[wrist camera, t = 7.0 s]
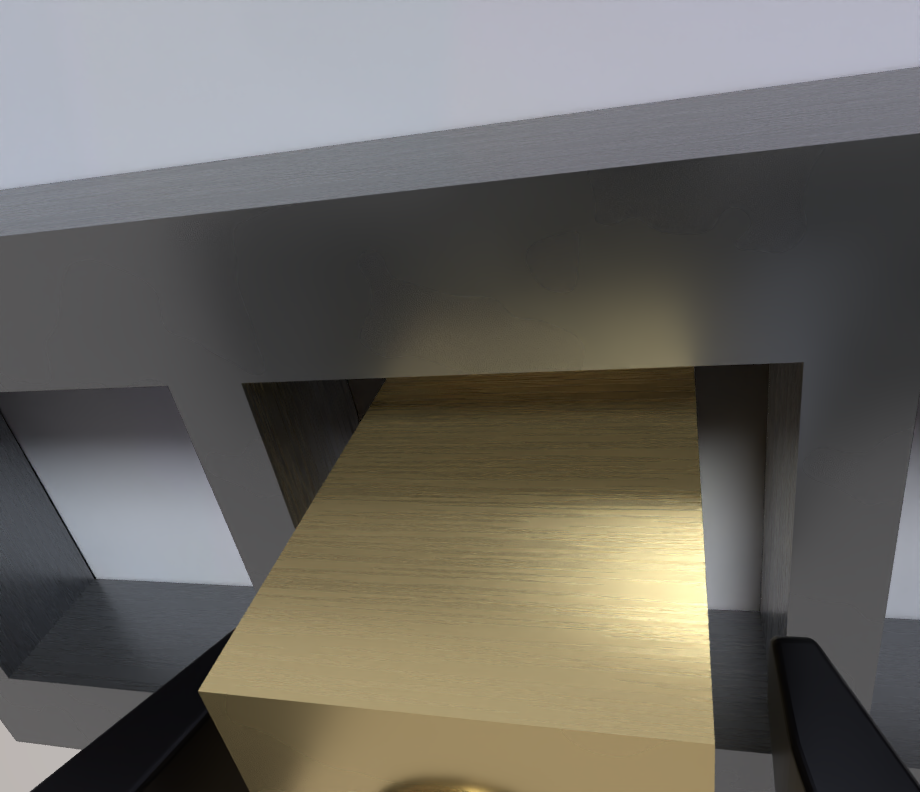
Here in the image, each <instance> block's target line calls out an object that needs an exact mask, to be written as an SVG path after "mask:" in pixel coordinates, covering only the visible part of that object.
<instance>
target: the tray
mask: <svg viewBox="0 0 920 792" xmlns="http://www.w3.org/2000/svg"><path fill="white" fill-rule="evenodd" d="M768 363H769V390H768V417H767V443H766V470H765V497H764V523H763V550H762V576H761V603H760V612H750V611H730V610H710V609H707V611H708V629H709V647H710V665H711V683H712V701H713V719H714V737H715V790H714V792H775V783H774V771H773V760H772V748H771V737H770V725H769V714H768V697H767V687H768V665H769V646H770V640H771V639H772V638H773V637H774V636H795V637H808V638H811V639H813V640H815V641H816V642H817V643H818V644H819V645H820V647H821V648H822V649H823V651H824V652H825V654H826V655H827V656H828V658H829V659H830V660H831V662H832V663H833V665H834V666H835V667H836V669H837V670H838V672H839V673H840V674H841V676H842V677H843V678H844V680H845V681H846V683H847V684H848V685H849V687H850V688H851V690H852V691H853V692H854V694H855V695H856V696H857V698H858V699H859V701H860V702H861V703H862V705H863V706H864V708H865V709H866V710H867V712H868V713H869V714H870V716H871V717H872V719H873V720H874V721H875V723H876V724H877V726H878V727H879V728H880V730H881V731H882V732H883V734H884V735H885V737H886V738H887V739H888V741H889V742H890V744H891V745H892V746H893V748H894V749H895V750H896V752H897V753H898V755H899V756H900V757H901V759H902V760H903V762H904V763H905V764H906V766H907V767H908V768H909V770H910V771H911V773H912V774H913V775H914V777H915V778H916V780H917V781H918V782H919V784H920V620H911V619H891V618H885V613H886V607H887V600H888V594H889V588H890V581H891V575H892V568H893V562H894V555H895V549H896V542H897V536H898V530H899V523H900V517H901V510H902V504H903V497H904V491H905V485H906V478H907V472H908V465H909V459H910V452H911V446H912V439H913V433H914V427H915V420H916V414H917V407H918V401H919V394H920V67H915V68H907V69H900V70H892V71H885V72H878V73H870V74H863V75H855V76H848V77H840V78H833V79H825V80H818V81H810V82H803V83H796V84H788V85H781V86H773V87H766V88H758V89H751V90H743V91H736V92H728V93H721V94H714V95H706V96H699V97H691V98H684V99H676V100H669V101H661V102H654V103H646V104H639V105H632V106H624V107H617V108H609V109H602V110H594V111H587V112H579V113H572V114H564V115H557V116H550V117H542V118H535V119H527V120H520V121H512V122H505V123H497V124H490V125H482V126H475V127H468V128H460V129H453V130H445V131H438V132H430V133H423V134H415V135H408V136H400V137H393V138H386V139H378V140H371V141H363V142H356V143H348V144H341V145H333V146H326V147H318V148H311V149H304V150H296V151H289V152H281V153H274V154H266V155H259V156H251V157H244V158H236V159H229V160H222V161H214V162H207V163H199V164H192V165H184V166H177V167H169V168H162V169H154V170H147V171H140V172H132V173H125V174H117V175H110V176H102V177H95V178H87V179H80V180H72V181H65V182H58V183H50V184H43V185H35V186H28V187H20V188H13V189H5V190H0V392H19V391H46V390H73V389H99V388H126V387H153V386H168V387H169V390H170V392H171V394H172V397H173V399H174V401H175V404H176V406H177V408H178V411H179V413H180V415H181V418H182V420H183V422H184V425H185V427H186V429H187V432H188V434H189V436H190V439H191V441H192V444H193V446H194V448H195V451H196V453H197V455H198V458H199V460H200V462H201V465H202V467H203V469H204V472H205V474H206V476H207V479H208V481H209V483H210V486H211V488H212V490H213V493H214V495H215V497H216V500H217V502H218V504H219V507H220V509H221V511H222V514H223V516H224V518H225V521H226V523H227V525H228V528H229V530H230V532H231V535H232V537H233V540H234V542H235V544H236V547H237V549H238V551H239V554H240V556H241V558H242V561H243V563H244V565H245V568H246V570H247V572H248V575H249V577H250V579H251V582H252V584H253V586H254V587H248V586H228V585H208V584H188V583H168V582H147V581H127V580H107V579H94V577H93V575H92V574H91V572H90V570H89V568H88V567H87V565H86V563H85V561H84V560H83V558H82V556H81V554H80V553H79V551H78V549H77V547H76V546H75V544H74V542H73V540H72V539H71V537H70V535H69V533H68V532H67V530H66V528H65V526H64V524H63V523H62V521H61V519H60V517H59V516H58V514H57V512H56V510H55V509H54V507H53V505H52V503H51V502H50V500H49V498H48V496H47V495H46V493H45V491H44V489H43V488H42V486H41V484H40V482H39V481H38V479H37V477H36V475H35V474H34V472H33V470H32V468H31V466H30V465H29V463H28V461H27V459H26V458H25V456H24V454H23V452H22V451H21V449H20V447H19V445H18V444H17V442H16V440H15V438H14V437H13V435H12V433H11V431H10V430H9V428H8V426H7V424H6V423H5V421H4V419H3V417H2V415H1V414H0V720H1V721H2V723H3V724H4V725H5V727H6V728H7V729H8V731H9V732H10V733H11V734H12V736H13V737H14V739H15V740H16V741H19V742H27V743H35V744H43V745H51V746H58V747H66V748H74V749H81V750H83V749H84V748H85V747H86V746H88V745H89V744H90V743H91V742H93V741H94V740H95V739H96V738H98V737H99V736H100V735H101V734H103V733H104V732H105V731H106V730H108V729H109V728H110V727H111V726H113V725H114V724H115V723H116V722H118V721H119V720H120V719H121V718H123V717H124V716H125V715H126V714H128V713H129V712H130V711H131V710H133V709H134V708H135V707H136V706H138V705H139V704H140V703H141V702H143V701H144V700H145V699H146V698H148V697H149V696H150V695H151V694H153V693H154V692H155V691H156V690H158V689H159V688H160V687H161V686H163V685H164V684H165V683H166V682H168V681H169V680H170V679H171V678H173V677H174V676H175V675H176V674H178V673H179V672H180V671H181V670H183V669H184V668H185V667H186V666H188V665H189V664H190V663H191V662H193V661H194V660H195V659H196V658H198V657H199V656H200V655H201V654H203V653H204V652H205V651H206V650H208V649H209V648H210V647H211V646H213V645H214V644H215V643H216V642H218V641H219V640H220V639H221V638H223V637H224V636H225V635H226V634H228V633H229V632H230V631H231V630H233V629H234V628H235V627H236V626H238V624H239V622H240V621H241V619H242V617H243V616H244V614H245V612H246V611H247V609H248V607H249V606H250V604H251V602H252V601H253V599H254V597H255V596H256V594H257V592H258V591H259V589H260V587H261V586H262V584H263V583H264V581H265V579H266V578H267V576H268V574H269V573H270V571H271V569H272V568H273V566H274V564H275V563H276V561H277V559H278V558H279V556H280V554H281V553H282V551H283V549H284V548H285V546H286V544H287V543H288V541H289V539H290V538H291V536H292V535H293V533H294V531H295V530H296V528H297V526H298V525H299V523H300V521H301V520H302V518H303V516H304V515H305V513H306V511H307V510H308V508H309V506H310V505H311V503H312V501H313V500H314V498H315V496H316V495H317V493H318V491H319V490H320V488H321V487H322V485H323V483H324V482H325V480H326V478H327V477H328V475H329V473H330V472H331V470H332V468H333V467H334V465H335V463H336V462H337V460H338V458H339V457H340V455H341V453H342V452H343V450H344V448H345V447H346V445H347V443H348V442H349V440H350V438H351V437H352V435H353V434H354V432H355V430H356V429H357V427H358V425H359V424H360V423H359V420H358V416H357V413H356V409H355V406H354V402H353V399H352V395H351V392H350V389H349V385H348V382H347V379H367V378H394V377H420V376H447V375H474V374H501V373H527V372H554V371H581V370H608V369H634V368H661V367H688V366H715V365H741V364H768Z"/></svg>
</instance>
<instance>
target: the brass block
mask: <svg viewBox="0 0 920 792" xmlns="http://www.w3.org/2000/svg"><path fill="white" fill-rule="evenodd" d="M198 692H199V694H200V696H201V698H202V700H203V702H204V704H205V706H206V708H207V710H208V712H209V714H210V716H211V718H212V720H213V721H214V723H215V725H216V727H217V729H218V731H219V733H220V735H221V737H222V739H223V741H224V743H225V745H226V747H227V748H228V750H229V752H230V754H231V756H232V758H233V760H234V762H235V764H236V766H237V768H238V770H239V772H240V774H241V776H242V777H243V779H244V781H245V783H246V785H247V787H248V789H249V791H250V792H714V790H715V737H714V719H713V701H712V683H711V665H710V647H709V629H708V611H707V593H706V574H705V556H704V538H703V520H702V502H701V484H700V466H699V448H698V430H697V412H696V394H695V376H694V366H688V367H661V368H634V369H608V370H581V371H554V372H527V373H501V374H474V375H447V376H420V377H394V378H387V379H386V381H385V382H384V384H383V386H382V387H381V389H380V390H379V392H378V394H377V395H376V397H375V399H374V400H373V402H372V404H371V405H370V407H369V409H368V410H367V412H366V414H365V415H364V417H363V419H362V420H361V422H360V424H359V425H358V427H357V429H356V430H355V432H354V434H353V435H352V437H351V438H350V440H349V442H348V443H347V445H346V447H345V448H344V450H343V452H342V453H341V455H340V457H339V458H338V460H337V462H336V463H335V465H334V467H333V468H332V470H331V472H330V473H329V475H328V477H327V478H326V480H325V482H324V483H323V485H322V487H321V488H320V490H319V491H318V493H317V495H316V496H315V498H314V500H313V501H312V503H311V505H310V506H309V508H308V510H307V511H306V513H305V515H304V516H303V518H302V520H301V521H300V523H299V525H298V526H297V528H296V530H295V531H294V533H293V535H292V536H291V538H290V539H289V541H288V543H287V544H286V546H285V548H284V549H283V551H282V553H281V554H280V556H279V558H278V559H277V561H276V563H275V564H274V566H273V568H272V569H271V571H270V573H269V574H268V576H267V578H266V579H265V581H264V583H263V584H262V586H261V587H260V589H259V591H258V592H257V594H256V596H255V597H254V599H253V601H252V602H251V604H250V606H249V607H248V609H247V611H246V612H245V614H244V616H243V617H242V619H241V621H240V622H239V624H238V626H237V627H236V629H235V631H234V632H233V634H232V636H231V637H230V639H229V640H228V642H227V644H226V645H225V647H224V649H223V650H222V652H221V654H220V655H219V657H218V659H217V660H216V662H215V664H214V665H213V667H212V669H211V670H210V672H209V674H208V675H207V677H206V679H205V680H204V682H203V684H202V685H201V687H200V688H199V690H198Z"/></svg>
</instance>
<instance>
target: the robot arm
mask: <svg viewBox="0 0 920 792" xmlns="http://www.w3.org/2000/svg"><path fill="white" fill-rule="evenodd" d="M236 627H237V626H236ZM236 627H235V628H234V629H233V630H231V631H230V632H229V633H228V634H226V635H225V636H224V637H223V638H221V639H220V640H219V641H218V642H216V643H215V644H214V645H213V646H211V647H210V648H209V649H208V650H206V651H205V652H204V653H203V654H201V655H200V656H199V657H198V658H196V659H195V660H194V661H193V662H191V663H190V664H189V665H188V666H186V667H185V668H184V669H183V670H181V671H180V672H179V673H178V674H176V675H175V676H174V677H173V678H171V679H170V680H169V681H168V682H166V683H165V684H164V685H163V686H161V687H160V688H159V689H158V690H156V691H155V692H154V693H153V694H151V695H150V696H149V697H148V698H146V699H145V700H144V701H143V702H141V703H140V704H139V705H138V706H136V707H135V708H134V709H133V710H131V711H130V712H129V713H128V714H126V715H125V716H124V717H123V718H121V719H120V720H119V721H118V722H116V723H115V724H114V725H113V726H111V727H110V728H109V729H108V730H106V731H105V732H104V733H103V734H101V735H100V736H99V737H98V738H96V739H95V740H94V741H93V742H91V743H90V744H89V745H88V746H86V747H85V748H84V749H83V750H81V751H80V752H79V753H78V754H76V755H75V756H74V757H73V758H71V759H70V760H69V761H68V762H67V763H65V764H64V765H63V766H62V767H60V768H59V769H58V770H56V771H55V772H54V773H53V774H51V775H50V776H49V777H48V778H46V779H45V780H44V781H43V782H41V783H40V784H39V785H38V786H36V787H35V788H34V789H33V790H31V791H30V792H250V791H249V789H248V787H247V785H246V783H245V781H244V779H243V777H242V776H241V774H240V772H239V770H238V768H237V766H236V764H235V762H234V760H233V758H232V756H231V754H230V752H229V750H228V748H227V747H226V745H225V743H224V741H223V739H222V737H221V735H220V733H219V731H218V729H217V727H216V725H215V723H214V721H213V720H212V718H211V716H210V714H209V712H208V710H207V708H206V706H205V704H204V702H203V700H202V698H201V696H200V694H199V692H198V690H199V688H200V687H201V685H202V684H203V682H204V680H205V679H206V677H207V675H208V674H209V672H210V670H211V669H212V667H213V665H214V664H215V662H216V660H217V659H218V657H219V655H220V654H221V652H222V650H223V649H224V647H225V645H226V644H227V642H228V640H229V639H230V637H231V636H232V634H233V632H234V631H235V629H236ZM767 697H768V714H769V725H770V737H771V748H772V760H773V771H774V783H775V792H920V784H919V782H918V781H917V780H916V778H915V777H914V775H913V774H912V773H911V771H910V770H909V768H908V767H907V766H906V764H905V763H904V762H903V760H902V759H901V757H900V756H899V755H898V753H897V752H896V750H895V749H894V748H893V746H892V745H891V744H890V742H889V741H888V739H887V738H886V737H885V735H884V734H883V732H882V731H881V730H880V728H879V727H878V726H877V724H876V723H875V721H874V720H873V719H872V717H871V716H870V714H869V713H868V712H867V710H866V709H865V708H864V706H863V705H862V703H861V702H860V701H859V699H858V698H857V696H856V695H855V694H854V692H853V691H852V690H851V688H850V687H849V685H848V684H847V683H846V681H845V680H844V678H843V677H842V676H841V674H840V673H839V672H838V670H837V669H836V667H835V666H834V665H833V663H832V662H831V660H830V659H829V658H828V656H827V655H826V654H825V652H824V651H823V649H822V648H821V647H820V645H819V644H818V643H817V642H816V641H815V640H813V639H811V638H808V637H795V636H774V637H773V638H772V639H771V640H770V646H769V665H768V687H767Z"/></svg>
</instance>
